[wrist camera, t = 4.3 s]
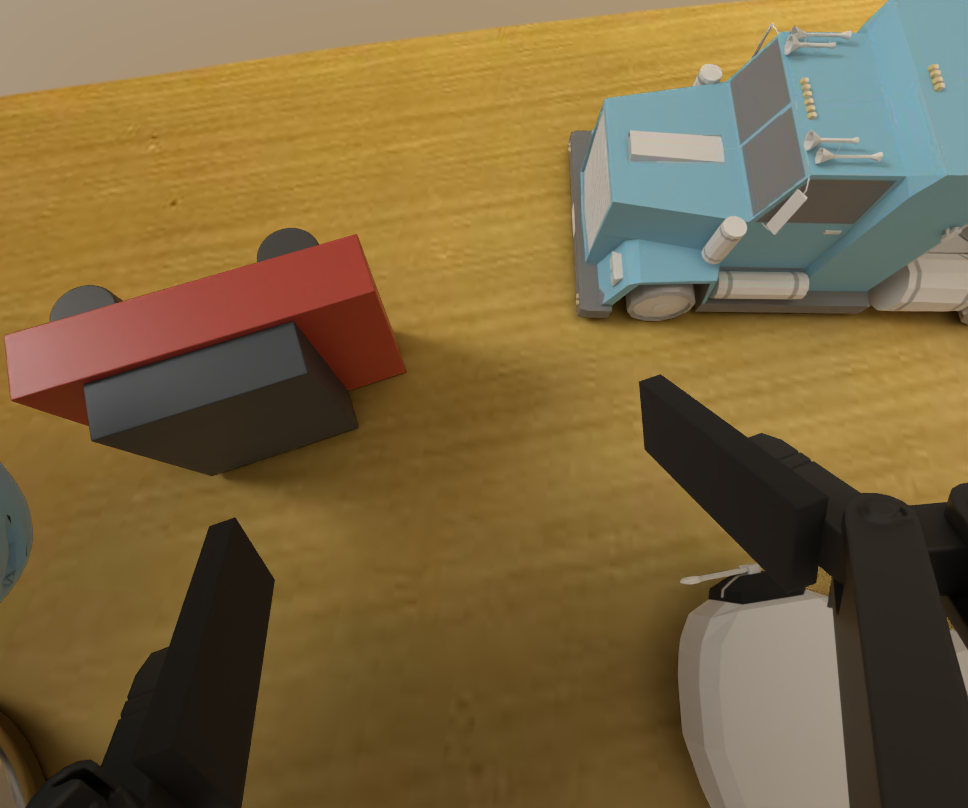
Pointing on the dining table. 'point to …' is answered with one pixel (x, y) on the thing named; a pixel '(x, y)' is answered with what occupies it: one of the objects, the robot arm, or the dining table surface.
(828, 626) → the robot toy
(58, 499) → the dining table surface
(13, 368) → the toy car
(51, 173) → the dining table surface
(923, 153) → the truck
